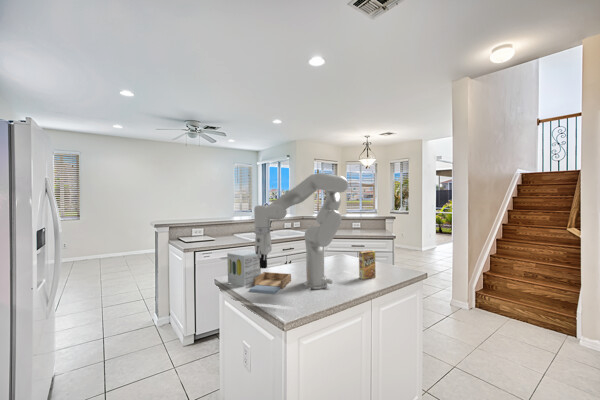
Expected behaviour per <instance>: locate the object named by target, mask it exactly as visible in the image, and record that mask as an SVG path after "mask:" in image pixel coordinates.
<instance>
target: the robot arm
mask: <svg viewBox="0 0 600 400" xmlns="http://www.w3.org/2000/svg"><path fill="white" fill-rule="evenodd" d="M348 188H349V181H348V180H347V178H345V177H344V176H342V175H335V174H328V173H324V172H322V173H321V172H318V173H313V174H311V175H308V176H307V177H306V178H305V179H304V180H302V181H301V182H300V183H299V184H297V185H296V186H295V187H293V188H292V189H290V190H288V191H287V192H285V193H284V194H282V195H280V196H278V198H277V199H275V200H274V201H272V202H271V203H270V204H269V205H267V204H264V205H263V204H261V205H259V204H258V205H256V206H254V209H253V210H254V211H253V212H254V214H253V215H254V235H255V237H254V239H255V240H254V251H255V253H256V254H257V255H258V256H257V257H258V258H259V260H260V268H261V269H267V268H268V255H269V253H271V252H272V237H271V220H277V221H280V220H283V219H284V218H286V215H287V211H288V209H289V208H290V207H292V206H295V205H299V204H302V203H303V202H304V201H305V200H307V199H308V198H310V197H312V195H313V194H315V193H316V192H317V191H319V190H320V191H321V190H322V191H324V192H325V200H324V202H323V204H322V206H321V208H320V210H319V211H318V213H317V214H316V218H315V221H316V223H317V224H318V226H316V225H312V226H309V227H307V229H306V230H305V232H304V243H305V254H306V255H305V258H306V259H305V260H306V261H305V262H306V269H305V270H306V272H305V273H306V280H305V281H304V282H303V285H304V286H306V287H309V288H311V290H321V289H325V288H327V287H328V284H329V285H333V280H332V279H330V278H327V276H326V275H325V248H326V247H328V246H329V245H330V244H331V243H332V241H333V240H334V238H335V236H336V234H337V232H338V230H339V228H340V227H341V224H342V214H341V213H340V212H339V208H340V206H341V202H342V198H341V194H342V193H344V192H346V191H347V189H348Z"/></svg>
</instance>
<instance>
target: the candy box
mask: <svg viewBox="0 0 600 400" xmlns="http://www.w3.org/2000/svg"><path fill="white" fill-rule="evenodd" d="M358 272H359V273H358V275H359V277H358V278H359V279H361V280H366V279H375V278H376V277H377V275H376V251H375V250H365V251H364V250H362V251H358Z"/></svg>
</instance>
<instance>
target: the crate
mask: <svg viewBox="0 0 600 400" xmlns="http://www.w3.org/2000/svg"><path fill="white" fill-rule="evenodd" d="M291 281H292V273H286V272H285V273H283V272H272V271H271V272H269V271H268V272H267V271H264V272H261V274H260V275H259V276H258V277H256V278H255V279H254V283H253V287H254V286H256V285H262V286H274V287H281V289H280V290H283V289H285V287H286V286H287V285H288V284H289V283H291Z"/></svg>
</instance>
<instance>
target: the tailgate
mask: <svg viewBox="0 0 600 400" xmlns="http://www.w3.org/2000/svg"><path fill="white" fill-rule="evenodd" d="M280 290H282V289H281V287H274V286H262V285H256V286H254V285H253V287H251V288H249V292H251V293H262V294H271V295H272V294H274V295H276V293H278V292H279V291H280Z"/></svg>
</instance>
